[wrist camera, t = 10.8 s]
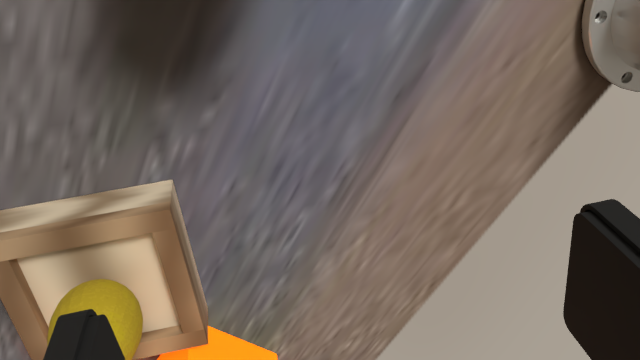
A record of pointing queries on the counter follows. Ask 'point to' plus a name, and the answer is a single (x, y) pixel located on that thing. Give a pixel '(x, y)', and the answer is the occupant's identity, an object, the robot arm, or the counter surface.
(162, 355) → the orange juice
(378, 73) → the counter surface
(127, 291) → the lemon
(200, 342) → the square wooden box
